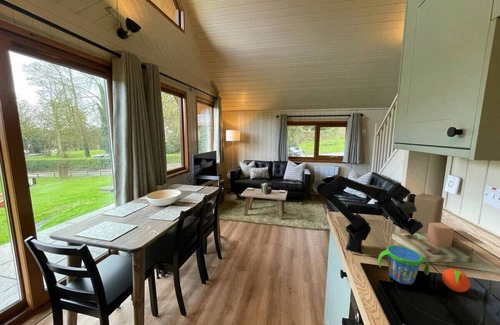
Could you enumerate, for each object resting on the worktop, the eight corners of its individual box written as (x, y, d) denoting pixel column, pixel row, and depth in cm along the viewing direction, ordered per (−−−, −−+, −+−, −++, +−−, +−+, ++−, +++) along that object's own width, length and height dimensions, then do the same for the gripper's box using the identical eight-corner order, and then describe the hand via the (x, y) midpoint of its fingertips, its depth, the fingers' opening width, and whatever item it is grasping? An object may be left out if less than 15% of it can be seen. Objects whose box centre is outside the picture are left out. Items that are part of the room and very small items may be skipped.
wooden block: (439, 233, 114) (444, 197, 111) (433, 238, 108) (438, 200, 105) (417, 226, 122) (421, 192, 119) (410, 230, 116) (414, 195, 114)
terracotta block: (437, 247, 95) (440, 228, 93) (426, 240, 101) (429, 222, 99) (451, 247, 95) (454, 228, 93) (439, 240, 101) (441, 222, 99)
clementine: (469, 302, 67) (473, 282, 66) (440, 291, 72) (443, 272, 71) (467, 289, 73) (471, 270, 72) (440, 279, 78) (443, 261, 77)
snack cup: (421, 275, 80) (425, 249, 78) (433, 294, 70) (437, 266, 69) (374, 265, 85) (376, 241, 84) (379, 282, 76) (382, 255, 74)
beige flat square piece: (423, 261, 88) (425, 248, 87) (391, 238, 108) (392, 226, 107) (471, 262, 88) (473, 248, 87) (430, 238, 108) (432, 227, 107)
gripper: (421, 203, 85) (444, 229, 87) (390, 190, 104) (410, 212, 105) (399, 221, 86) (423, 247, 88) (373, 205, 105) (392, 227, 106)
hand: (411, 232), depth 97 cm, fingers closed
